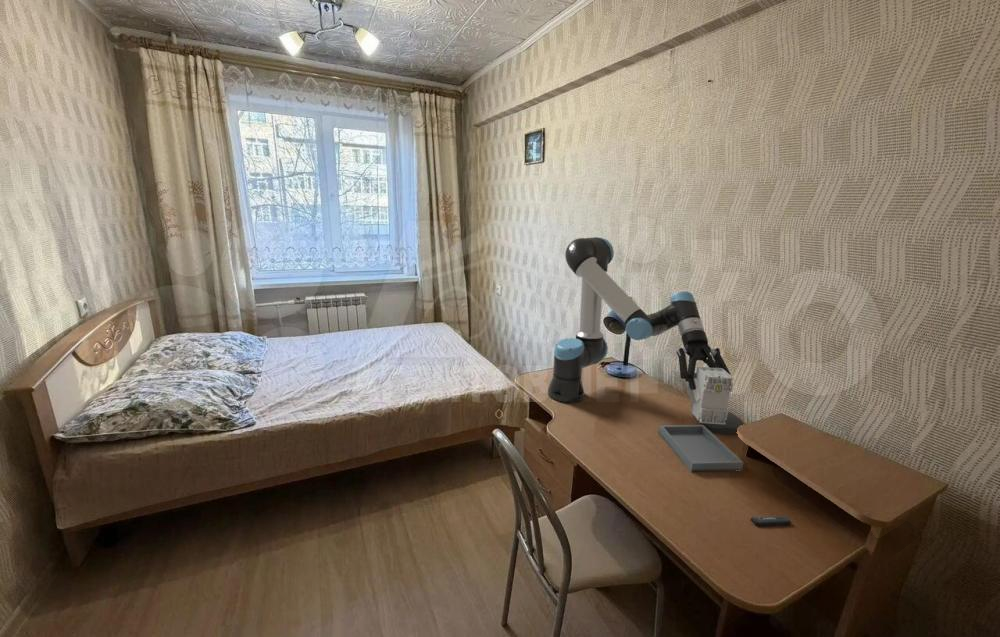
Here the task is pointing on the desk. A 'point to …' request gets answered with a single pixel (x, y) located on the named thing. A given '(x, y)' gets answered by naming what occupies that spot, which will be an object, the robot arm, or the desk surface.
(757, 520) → the usb stick
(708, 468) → the tray
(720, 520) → the desk surface
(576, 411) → the desk surface
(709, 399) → the circuit breaker
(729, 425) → the media streaming box
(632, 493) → the desk surface
